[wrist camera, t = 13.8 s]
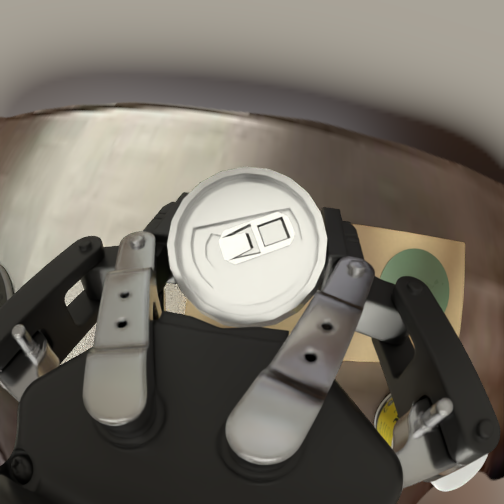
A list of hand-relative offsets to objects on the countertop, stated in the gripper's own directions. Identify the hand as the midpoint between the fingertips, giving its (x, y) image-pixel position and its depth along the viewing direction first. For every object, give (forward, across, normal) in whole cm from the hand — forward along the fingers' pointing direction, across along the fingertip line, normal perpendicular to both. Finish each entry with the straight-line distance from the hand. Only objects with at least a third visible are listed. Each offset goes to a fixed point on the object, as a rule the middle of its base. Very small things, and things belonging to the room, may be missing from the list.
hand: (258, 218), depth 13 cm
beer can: (+5, 0, +7) cm, 9 cm away
